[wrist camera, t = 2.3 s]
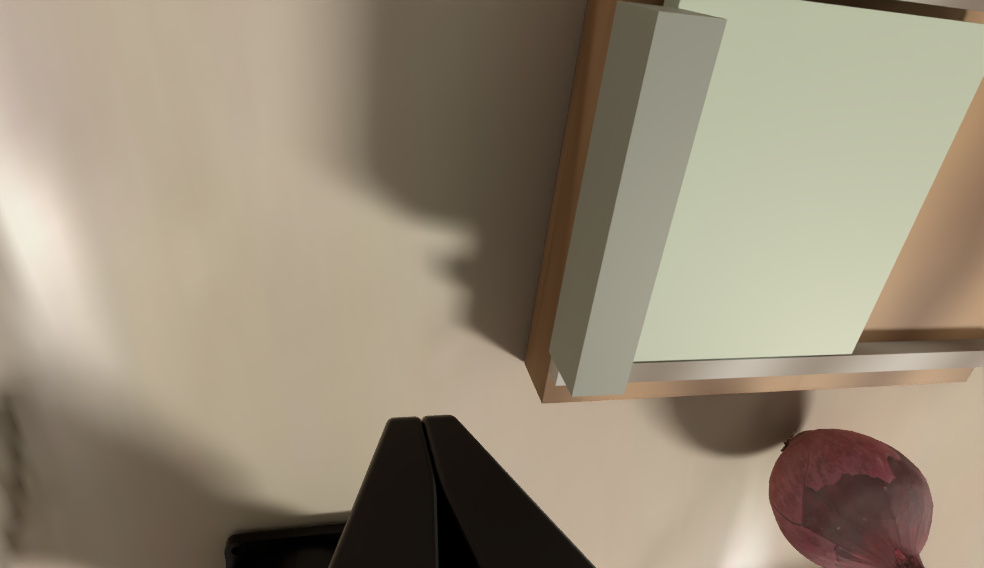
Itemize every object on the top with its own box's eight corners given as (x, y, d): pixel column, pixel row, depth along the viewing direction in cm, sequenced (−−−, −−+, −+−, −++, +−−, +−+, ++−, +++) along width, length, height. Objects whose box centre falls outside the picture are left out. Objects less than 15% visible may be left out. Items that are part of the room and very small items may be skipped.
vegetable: (796, 492, 32) (964, 696, 23) (706, 474, 30) (856, 692, 21) (873, 402, 30) (1089, 591, 21) (782, 374, 27) (984, 574, 19)
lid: (539, 350, 20) (568, 410, 18) (609, -25, 15) (664, -16, 12) (836, 341, 23) (898, 392, 20) (981, 23, 18) (1088, 39, 15)
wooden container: (524, 362, 24) (548, 418, 21) (611, -135, 16) (666, -148, 14) (920, 349, 28) (982, 393, 26) (1131, -43, 21) (1249, -39, 18)
